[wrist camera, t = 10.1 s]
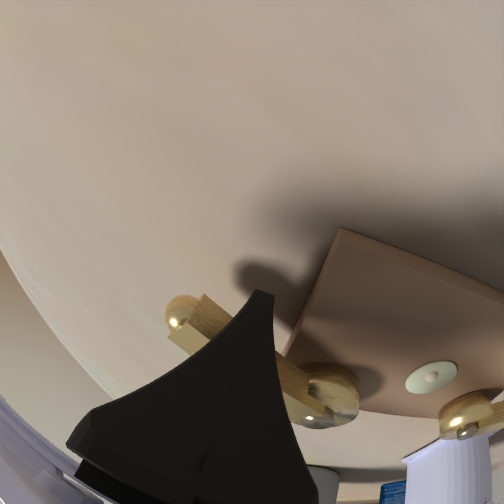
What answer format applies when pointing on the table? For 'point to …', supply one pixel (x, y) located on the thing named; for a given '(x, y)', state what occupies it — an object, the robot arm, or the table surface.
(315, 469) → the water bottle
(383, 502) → the blue plastic bottle
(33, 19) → the table surface
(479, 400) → the lever
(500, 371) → the base
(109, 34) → the table surface
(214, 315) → the lever
